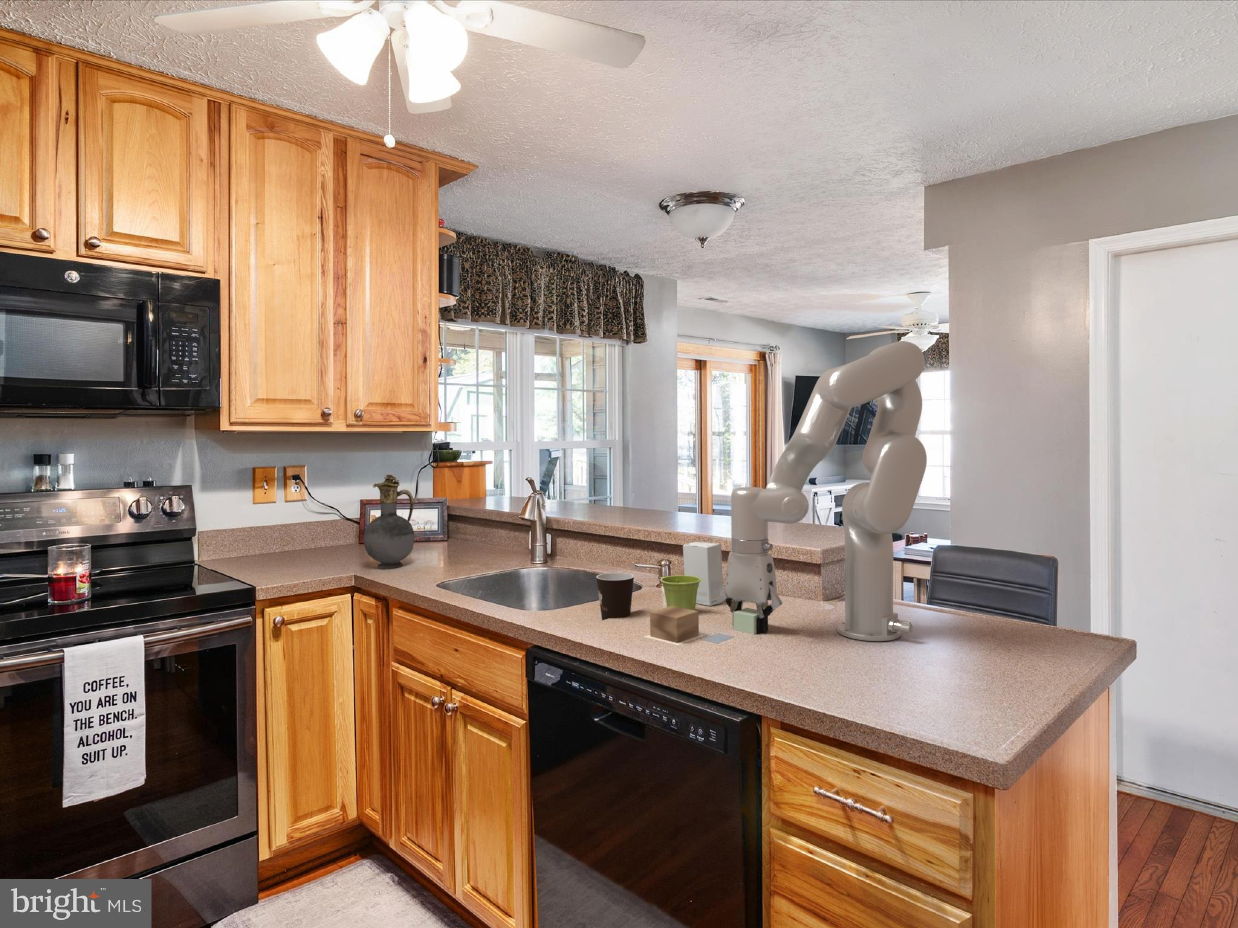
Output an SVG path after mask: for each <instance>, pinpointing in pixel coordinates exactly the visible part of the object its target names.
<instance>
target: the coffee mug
mask: <svg viewBox="0 0 1238 928" xmlns="http://www.w3.org/2000/svg"><path fill="white" fill-rule="evenodd" d="M595 578H596V583H597V585H596V586H597V592H598V600H599V606H600V608H599V609H600V614H601V621H606V620H608V619H609V620H610V619H624V618H628V617H630V616H631V611H632V598H633V589H634V582H635V581H634V580H635V575H634V574H632V573H627V572H605V573H601V574H597V575H596V577H595Z"/></svg>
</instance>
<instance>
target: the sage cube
mask: <svg viewBox="0 0 1238 928" xmlns="http://www.w3.org/2000/svg"><path fill="white" fill-rule="evenodd" d="M757 617H759V615H758V611H757V608H756V609H754V608H750V607H745V608H742V609H741V610H738V611H735V612H733V613H732V626H733V628H732V630H733V631H734V632H735V631H736V632H739V633H740V632H741V633H745V634H750V635H757V629H756V619H757Z"/></svg>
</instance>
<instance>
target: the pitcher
mask: <svg viewBox="0 0 1238 928" xmlns="http://www.w3.org/2000/svg"><path fill="white" fill-rule="evenodd" d="M383 479H384V481H383V482H379V483H374V484H372V487H373V488H374V489H375V488H377V489H378V491H379V503H380V515H379V516H377V517H376V518H374V519H372V520H371V521H370V522H369V523H368V524H367V526H366V528H365V531H364V534H363V546H364V550H365V551H366V554H367V555H368V556H369V557H370V558H372V560H375V561H376V562H379V564H377V568H378V569H379V568H380V569H381V570H391V569H399V568H401V567H402V566H404V565H403V563H402V562H401V561H403V560H404V559H405V558H407V557H408V556H409V555H410V554H411V553H412V551H413V549H414V544H415V532H414V528H413V526H412V524H411V522H410V521H411V519H412V515H413V511H414V506H415V505H414V504H415V501H414V500H415V499H414V497H413V495H412V492H411V491H410V490H409V489H402V490H401V489H400V490H399V491H398V487H399V486H400V482H399V481H400V480H399V479H397V477H396V476H393V474H386V475H385V476H384V477H383ZM402 495H406V496H407V497H408V499H409V502H410V503H409V513H408V517H407V519H406V518H405V517H403V516H400V515H398V514H397V513H398V512H397V511H398V510H397V502H398V498H399V497H400V496H402Z"/></svg>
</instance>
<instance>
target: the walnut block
mask: <svg viewBox="0 0 1238 928" xmlns="http://www.w3.org/2000/svg"><path fill="white" fill-rule="evenodd" d="M649 614H650V615H649V631H650V632H649V633H650V634H649V635H650V637H654V638H658V639H662V640H666V641H671V642H675V643H679V642H682V641H685V640H687V639H690V638H693V637H696V636H699V634H700V630H699V629H700V625H699V623H700V621H699V614H700V613H699V610H696V609H695V610H690V609H685V608H680V607H675V606H670V607H667V606H666V607H664V608H660V609H658V610H653V611H650V612H649Z"/></svg>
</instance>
